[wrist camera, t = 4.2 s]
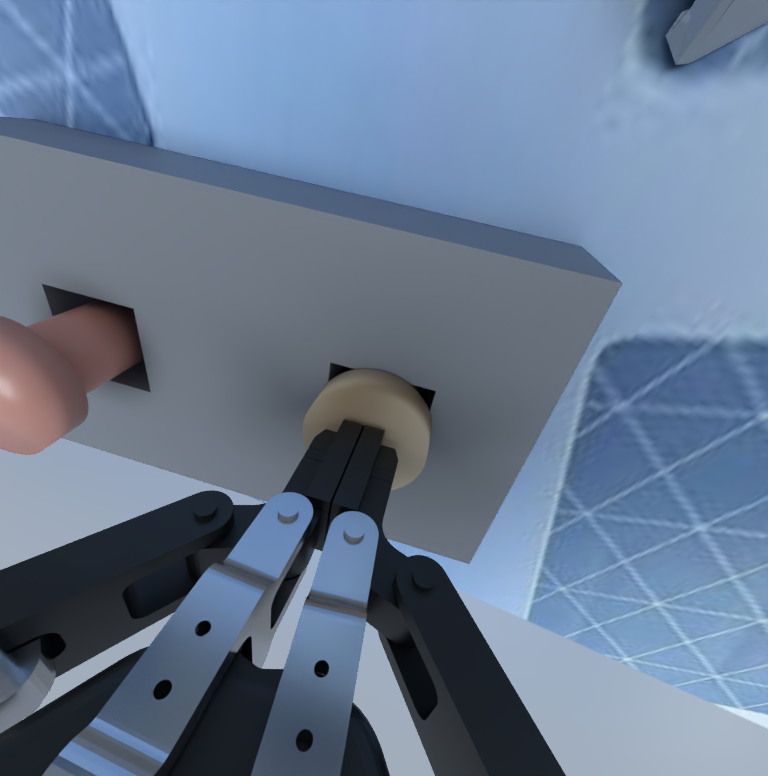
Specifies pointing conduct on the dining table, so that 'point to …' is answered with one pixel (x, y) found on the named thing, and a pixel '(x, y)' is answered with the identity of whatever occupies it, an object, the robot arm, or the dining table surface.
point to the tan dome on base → (376, 415)
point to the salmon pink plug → (60, 370)
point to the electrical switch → (713, 26)
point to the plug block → (293, 317)
